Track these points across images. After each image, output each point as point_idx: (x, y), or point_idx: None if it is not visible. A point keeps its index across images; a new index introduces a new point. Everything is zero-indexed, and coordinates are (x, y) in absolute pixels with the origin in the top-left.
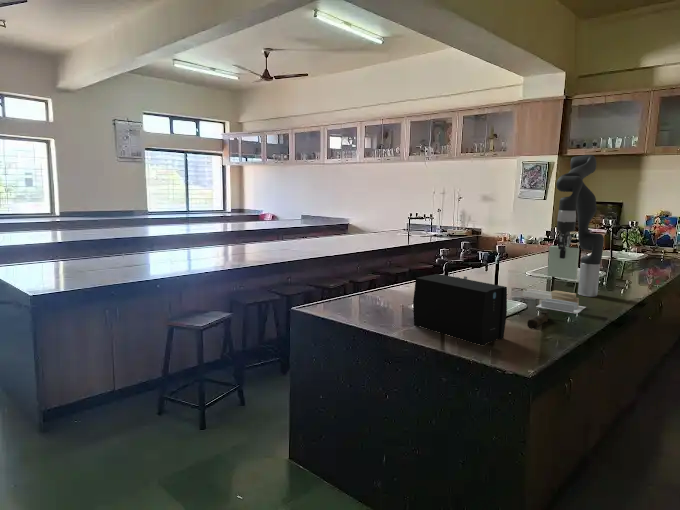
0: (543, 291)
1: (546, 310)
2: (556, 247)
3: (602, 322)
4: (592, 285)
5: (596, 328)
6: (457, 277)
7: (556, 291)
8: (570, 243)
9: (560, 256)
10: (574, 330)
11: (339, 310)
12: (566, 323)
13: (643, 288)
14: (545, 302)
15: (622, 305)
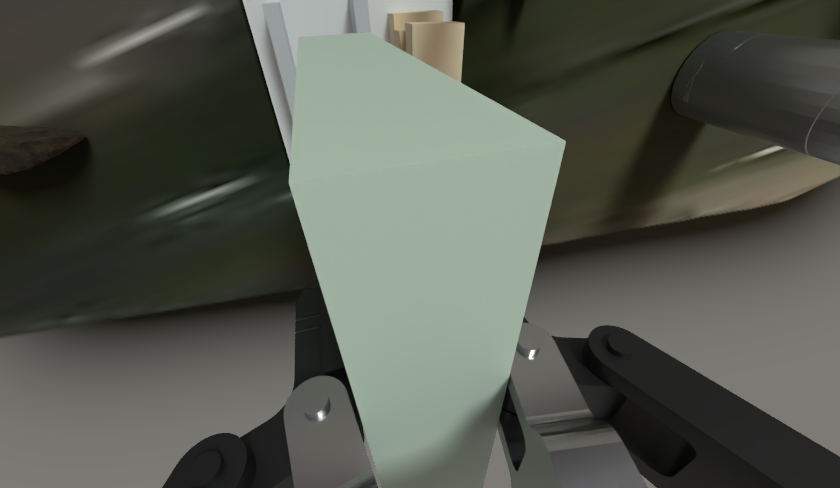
0: None
1: (18, 156)
2: (343, 354)
3: (293, 278)
4: (718, 117)
5: (191, 300)
6: None
7: (437, 52)
8: (666, 442)
9: (299, 302)
10: (61, 280)
11: None
12: (125, 221)
13: (827, 174)
14: (271, 34)
15: (574, 222)
